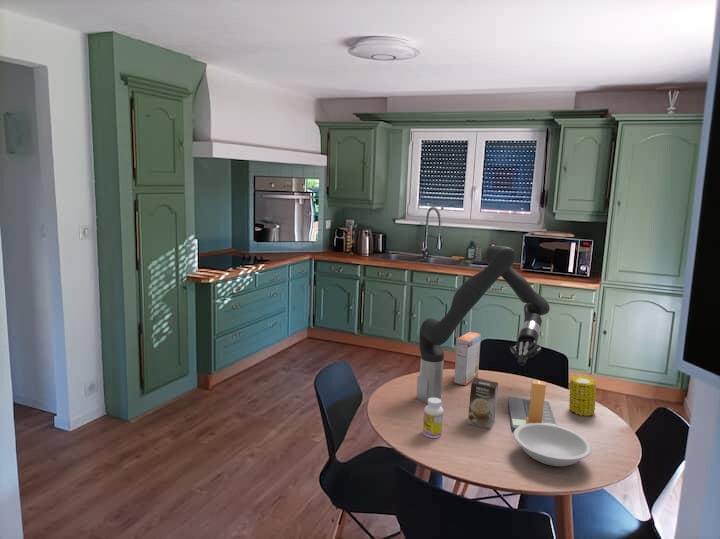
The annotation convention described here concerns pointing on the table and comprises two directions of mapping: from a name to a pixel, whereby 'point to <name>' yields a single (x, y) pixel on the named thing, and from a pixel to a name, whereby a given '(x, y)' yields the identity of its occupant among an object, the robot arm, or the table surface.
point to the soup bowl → (552, 443)
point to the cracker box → (467, 358)
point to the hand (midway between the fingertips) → (520, 364)
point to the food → (582, 395)
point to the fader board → (526, 412)
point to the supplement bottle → (433, 418)
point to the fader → (536, 402)
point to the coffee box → (482, 403)
